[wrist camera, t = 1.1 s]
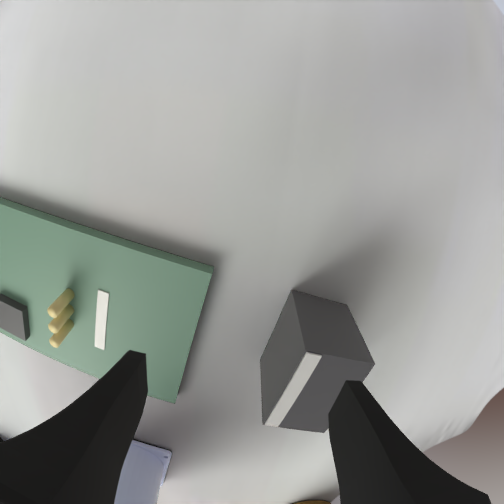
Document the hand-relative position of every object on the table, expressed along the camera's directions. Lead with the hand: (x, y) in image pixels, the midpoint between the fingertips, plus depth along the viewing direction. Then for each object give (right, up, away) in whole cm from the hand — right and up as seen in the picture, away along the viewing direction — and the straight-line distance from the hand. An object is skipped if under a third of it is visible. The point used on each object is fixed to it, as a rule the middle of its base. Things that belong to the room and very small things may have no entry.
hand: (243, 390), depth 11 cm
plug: (+4, -1, +11) cm, 11 cm away
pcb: (-12, +1, +10) cm, 16 cm away
